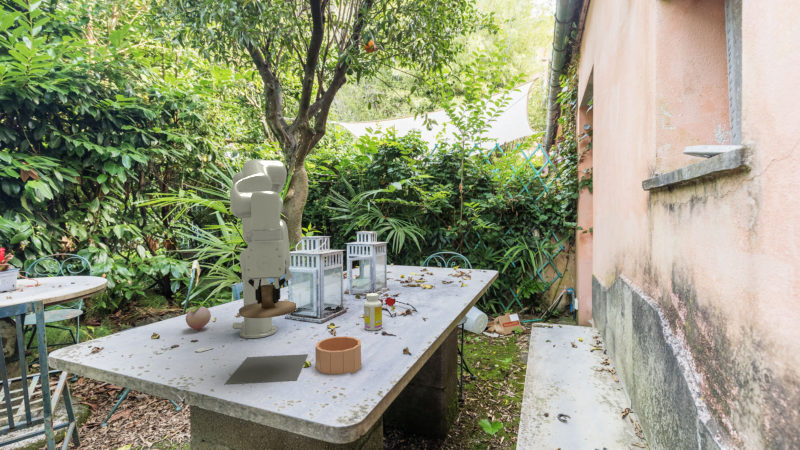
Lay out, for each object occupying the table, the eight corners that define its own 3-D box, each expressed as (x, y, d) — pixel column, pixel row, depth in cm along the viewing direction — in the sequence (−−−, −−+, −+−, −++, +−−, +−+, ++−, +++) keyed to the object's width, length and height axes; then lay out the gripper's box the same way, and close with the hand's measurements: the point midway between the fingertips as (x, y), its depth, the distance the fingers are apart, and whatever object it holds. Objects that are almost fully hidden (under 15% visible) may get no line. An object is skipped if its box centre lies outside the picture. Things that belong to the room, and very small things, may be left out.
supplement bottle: (383, 325, 142) (382, 292, 142) (380, 331, 136) (380, 296, 135) (366, 325, 143) (365, 292, 143) (362, 331, 136) (362, 296, 136)
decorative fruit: (209, 332, 138) (208, 305, 138) (184, 335, 135) (183, 308, 135) (212, 325, 147) (211, 300, 147) (188, 328, 144) (187, 302, 144)
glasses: (394, 305, 175) (394, 295, 175) (417, 312, 162) (417, 301, 162) (370, 311, 166) (369, 299, 166) (392, 318, 153) (392, 306, 153)
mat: (223, 386, 93) (223, 384, 93) (247, 359, 111) (247, 357, 111) (296, 382, 95) (296, 380, 95) (308, 356, 113) (308, 354, 113)
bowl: (313, 377, 98) (312, 352, 98) (319, 359, 110) (319, 337, 110) (360, 374, 99) (360, 350, 99) (361, 357, 111) (361, 335, 111)
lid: (230, 319, 95) (229, 292, 94) (249, 305, 110) (248, 281, 109) (290, 316, 96) (289, 290, 96) (300, 303, 111) (300, 279, 111)
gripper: (230, 237, 98) (232, 307, 98) (294, 236, 99) (296, 304, 100) (240, 236, 105) (242, 300, 106) (299, 234, 106) (301, 298, 107)
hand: (268, 301), depth 103 cm, fingers closed on lid, 3 cm apart
